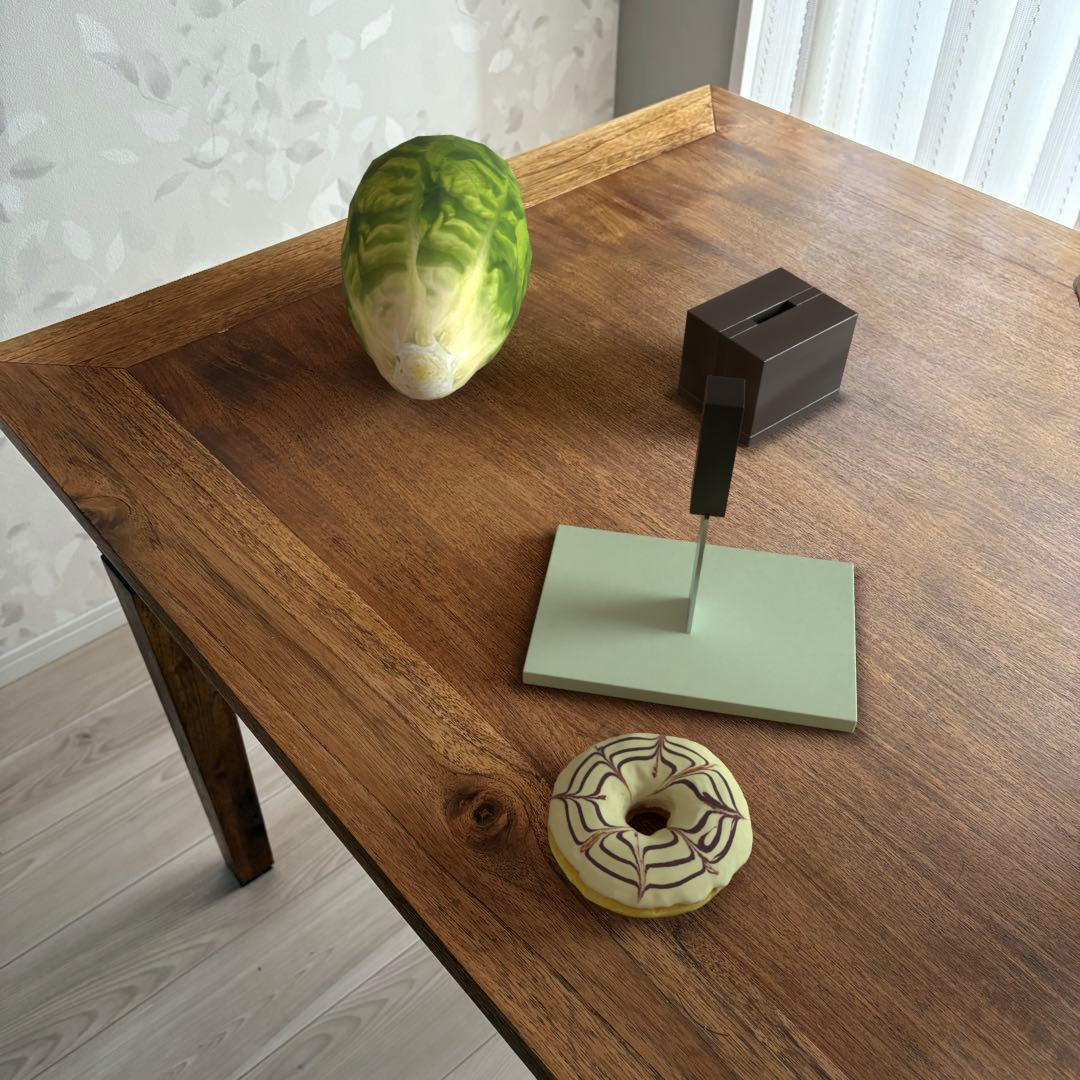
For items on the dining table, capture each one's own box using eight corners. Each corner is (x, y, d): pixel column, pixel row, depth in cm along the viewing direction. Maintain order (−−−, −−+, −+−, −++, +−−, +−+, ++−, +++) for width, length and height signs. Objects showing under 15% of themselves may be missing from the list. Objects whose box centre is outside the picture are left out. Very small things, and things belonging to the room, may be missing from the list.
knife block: (837, 398, 88) (859, 313, 83) (748, 447, 84) (764, 361, 78) (765, 350, 93) (780, 266, 87) (676, 395, 88) (686, 309, 83)
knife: (706, 599, 72) (745, 375, 59) (704, 635, 70) (744, 410, 57) (675, 596, 72) (707, 371, 59) (672, 631, 70) (705, 406, 57)
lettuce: (329, 456, 83) (298, 276, 72) (370, 264, 102) (351, 97, 90) (529, 458, 83) (529, 278, 72) (533, 265, 102) (533, 99, 90)
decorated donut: (784, 859, 60) (797, 823, 57) (631, 973, 56) (636, 940, 53) (660, 728, 66) (665, 690, 63) (512, 822, 62) (511, 785, 59)
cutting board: (849, 575, 75) (853, 562, 74) (853, 733, 66) (857, 721, 65) (557, 535, 77) (558, 523, 76) (522, 683, 68) (522, 671, 67)
